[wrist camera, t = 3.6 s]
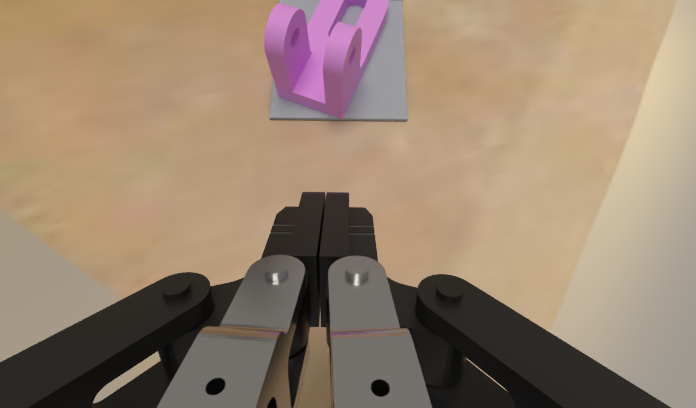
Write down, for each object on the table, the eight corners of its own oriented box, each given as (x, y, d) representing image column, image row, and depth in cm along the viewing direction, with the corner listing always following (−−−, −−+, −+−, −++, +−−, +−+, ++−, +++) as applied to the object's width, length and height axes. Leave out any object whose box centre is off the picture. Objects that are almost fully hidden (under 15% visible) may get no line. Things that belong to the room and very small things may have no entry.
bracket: (342, 119, 29) (342, 60, 22) (278, 96, 30) (259, 32, 23) (395, -1, 33) (408, -82, 26) (337, -19, 33) (335, -103, 27)
